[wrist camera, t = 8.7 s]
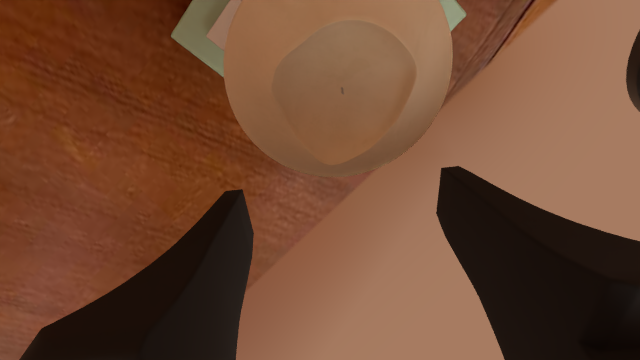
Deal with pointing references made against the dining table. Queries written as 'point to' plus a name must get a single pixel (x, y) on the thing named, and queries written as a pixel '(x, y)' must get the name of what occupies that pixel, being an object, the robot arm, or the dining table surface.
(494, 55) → the dining table surface
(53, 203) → the dining table surface
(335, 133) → the candle
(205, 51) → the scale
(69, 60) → the dining table surface
